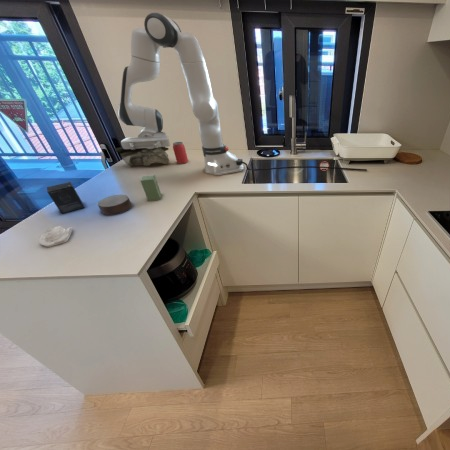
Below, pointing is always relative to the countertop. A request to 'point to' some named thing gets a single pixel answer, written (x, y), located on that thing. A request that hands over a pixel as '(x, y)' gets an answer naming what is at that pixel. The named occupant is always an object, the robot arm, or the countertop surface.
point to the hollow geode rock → (144, 155)
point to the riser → (114, 204)
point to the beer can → (180, 152)
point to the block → (151, 187)
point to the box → (65, 197)
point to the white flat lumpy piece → (55, 236)
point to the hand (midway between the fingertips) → (144, 147)
